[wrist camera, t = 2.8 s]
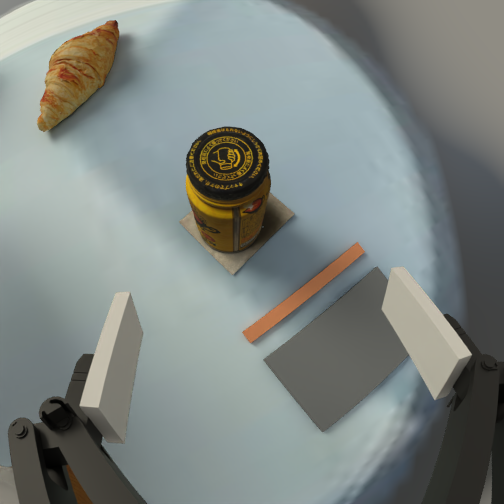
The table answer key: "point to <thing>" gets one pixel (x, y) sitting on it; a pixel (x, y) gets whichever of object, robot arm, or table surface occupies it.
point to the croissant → (77, 73)
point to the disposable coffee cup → (5, 494)
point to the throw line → (303, 293)
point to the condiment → (231, 196)
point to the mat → (340, 353)
